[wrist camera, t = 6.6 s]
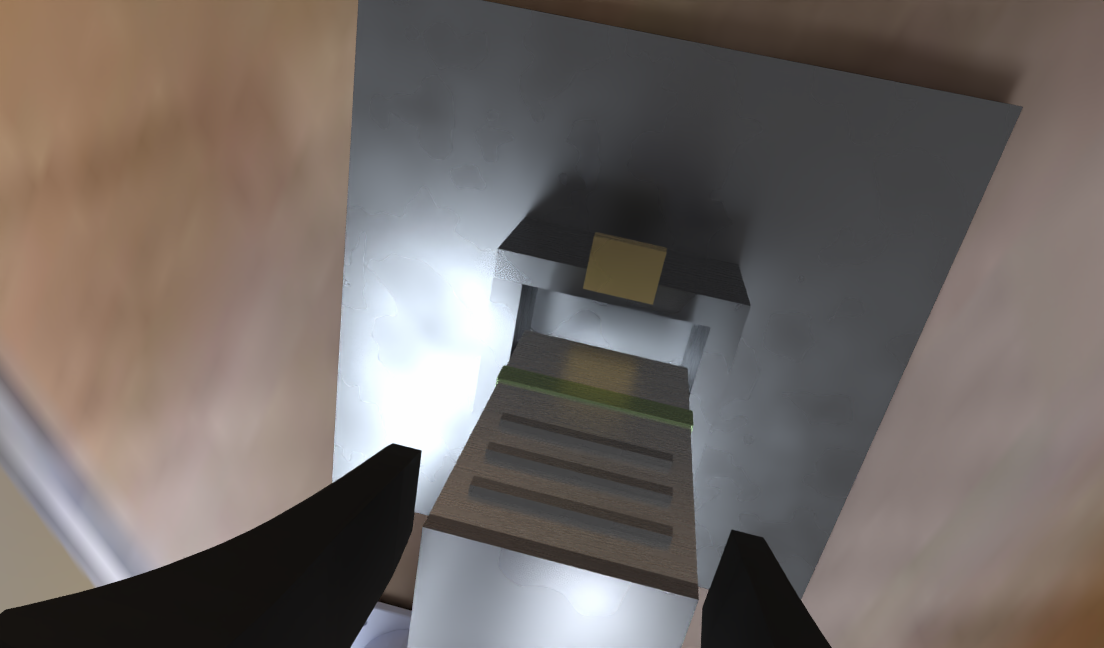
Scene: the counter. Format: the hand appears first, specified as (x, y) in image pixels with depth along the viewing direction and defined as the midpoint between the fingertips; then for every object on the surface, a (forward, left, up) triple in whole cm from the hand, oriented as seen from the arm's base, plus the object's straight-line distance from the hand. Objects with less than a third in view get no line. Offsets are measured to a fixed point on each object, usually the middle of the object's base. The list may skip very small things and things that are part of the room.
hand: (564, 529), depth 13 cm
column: (0, 0, -4) cm, 4 cm away
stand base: (0, 0, -10) cm, 10 cm away
